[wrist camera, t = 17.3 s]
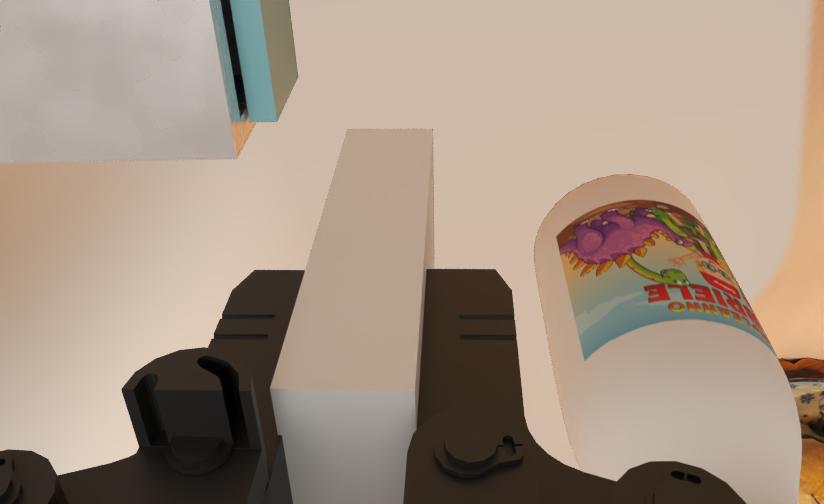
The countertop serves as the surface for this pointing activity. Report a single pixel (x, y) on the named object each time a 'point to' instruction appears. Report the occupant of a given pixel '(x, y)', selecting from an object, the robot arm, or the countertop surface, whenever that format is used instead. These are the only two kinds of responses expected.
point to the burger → (809, 424)
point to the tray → (262, 53)
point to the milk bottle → (660, 343)
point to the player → (118, 82)
